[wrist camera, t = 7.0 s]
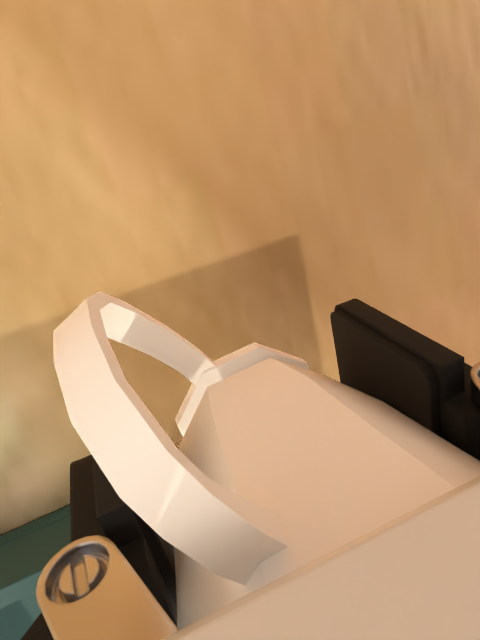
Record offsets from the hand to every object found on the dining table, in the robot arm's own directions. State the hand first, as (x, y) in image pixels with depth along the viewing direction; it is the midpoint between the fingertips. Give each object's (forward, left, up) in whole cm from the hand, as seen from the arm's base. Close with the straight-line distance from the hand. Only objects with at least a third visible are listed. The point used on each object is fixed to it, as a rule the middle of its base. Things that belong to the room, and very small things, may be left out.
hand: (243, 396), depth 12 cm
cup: (0, 0, -1) cm, 1 cm away
